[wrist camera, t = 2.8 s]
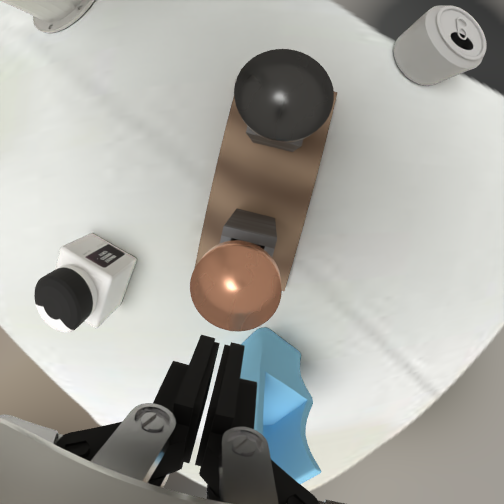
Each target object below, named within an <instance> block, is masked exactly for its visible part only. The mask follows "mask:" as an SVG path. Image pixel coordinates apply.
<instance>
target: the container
mask: <svg viewBox="0 0 504 504" xmlns="http://www.w3.org/2000/svg"><path fill="white" fill-rule="evenodd" d="M136 261H137V259H136V258H135V257H134V256H132V255H130V254H128V253H126V252H125V251H123V250H121V249H119V248H117V247H116V246H114V245H112V244H110V243H109V242H107V241H105V240H103V239H102V238H100V237H98V236H97V235H95V234H93V233H91V234H88V235H86V236H84V237H82V238H79V239H77V240H75V241H73V242H71V243H68V244H66V245H64V246H62V247H61V248H60V251H59V255H58V259H57V264H56V268H55V270H54V271H53V272H51V273H49V274H47V275H46V276H44V277H42V278H41V279H40V280H39V281H38V282H37V284H36V287H35V303H36V307H37V309H38V312H39V314H40V315H41V317H42V318H43V320H44V321H45V322H46V323H47V324H48V325H49V326H51V327H52V328H54V329H56V330H58V331H61V332H71V331H73V330H75V329H76V328H77V327H78V326H79V325H80V324H81V323H83V322H86V323H87V324H89V325H91V326H92V327H94V328H98V327H99V326H100V325H101V324H102V323H103V322H104V321H105V320H106V319H107V318H108V317H109V316H110V315H111V314H112V313H113V312H114V311H115V310H116V309H117V308H118V307H119V306H120V305H121V303H122V300H123V297H124V294H125V291H126V289H127V286H128V283H129V280H130V277H131V275H132V272H133V269H134V267H135V264H136Z"/></svg>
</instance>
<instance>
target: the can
mask: <svg viewBox="0 0 504 504" xmlns="http://www.w3.org/2000/svg"><path fill="white" fill-rule="evenodd" d="M393 52H394V57H395V61H396V63H397V65H398V67H399V69H400V70H401V71H402V72H403V73H404V75H405V76H406V77H408V78H409V79H410V80H412V81H413V82H415V83H418V84H420V85H426V86H430V85H434V84H437V83H439V82H441V81H444V80H446V79H448V78H451V77H453V76H456V75H458V74H461V73H463V72H465V71H468V70H471V69H473V68H475V67H477V66H478V65H479V64H480V63H481V61H482V58H483V56H484V54H485V52H486V39H485V36H484V33H483V31H482V29H481V28H480V26H479V24H478V23H477V22H476V21H475V19H474V18H473V17H472V16H470V15H469V14H468V13H467V12H466V11H464V10H462V9H460V8H458V7H455V6H435V7H433V8H431V9H430V10H429V11H427V12H426V13H425V14H424V15H423V16H422V17H421V18H419V19H418V20H417V21H416V22H415V23H414V24H413V25H412V26H411V27H409V29H407V30H406V31H405V32H404V33H403V34H402V35H401V36H400V37H398V39H397V40H396V42H395V44H394V50H393Z"/></svg>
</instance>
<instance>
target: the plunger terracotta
mask: <svg viewBox="0 0 504 504" xmlns="http://www.w3.org/2000/svg"><path fill="white" fill-rule="evenodd" d="M190 292H191V297H192V301H193V303H194V305H195V307H196V309H197V310H198V312H199V313H200V314H201V315H202V316H203V317H204V318H205V319H206V320H207V321H208V322H210V323H211V324H213V325H215V326H217V327H219V328H222V329H225V330H229V331H246V330H250V329H254V328H256V327H258V326H260V325H262V324H264V323H265V322H266V321H268V320H269V319H270V318H271V317H272V315H273V314H274V313H275V311H276V309H277V308H278V305H279V303H280V299H281V279H280V273H279V269H278V267H277V265H276V263H275V261H274V260H273V258H272V257H271V256H270V255H269V254H268V253H267V252H266V251H265V250H264V249H262V248H261V247H259V245H258V244H254V243H250V242H246V241H242V240H238V239H237V240H234V241H227V242H223V243H220V244H218V245H216V246H214V247H212V248H211V249H210V250H209V251H207V252H206V253H205V255H204V256H203V257H202V258H201V260H200V261H199V263H198V264H197V265H196V267H195V269H194V271H193V273H192V277H191V281H190Z"/></svg>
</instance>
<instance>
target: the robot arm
mask: <svg viewBox="0 0 504 504" xmlns="http://www.w3.org/2000/svg"><path fill="white" fill-rule="evenodd" d="M0 1H2V2H4V3H7V4H9V5H11V6H13V7H15V8H18V9H20V10H22V11H24V12H26V13H28V14H30V15H32V16H33V21H34V25H35V26H36V28H37V29H38V30H40V31H42V32H45V33H54V32H58V31H60V30H63V29H65V28H67V27H68V26H70V25H71V24H73V23H74V22H75V21H77V20H78V19H79V18H80V17H81V16H82V15H83V14H84V13H85V12H86V11H87V10H88V8H89V7H90V6H91V5H92V3H93V2H94V0H0ZM214 341H215V338H212V337H208V336H204V335H201V336H200V339H199V341H198V344H197V346H196V349H195V351H194V354H193V357H192V359H191V362H190V364H189V365H186V364H183V363H179V362H176V361H173V362H172V364H171V366H170V368H169V370H168V372H167V375H166V377H165V379H164V381H163V383H162V385H161V387H160V389H159V391H158V394H157V396H156V398H155V400H154V402H153V404H152V403H146V404H141V405H138V406H136V407H135V408H134V409H133V410H132V411H131V412H130V413H129V414H128V416H127V417H126V418H125V419H124V421H123V422H119V423H115V424H110V425H106V426H101V427H97V428H92V429H87V430H82V431H76V432H71V433H68V434H65V435H60V434H58V432H57V431H56V430H53V429H49V428H46V427H43V426H40V425H37V424H34V423H30V422H27V421H25V420H21V419H19V418H16V417H13V416H10V415H0V504H345V503H339V502H335V501H330V500H325V501H324V502H322V501H318V500H317V499H316V498H315V497H314V496H313V494H311V493H310V492H309V491H308V490H306V489H305V488H304V487H303V486H301V485H300V484H299V483H298V482H297V481H295V480H294V479H293V478H292V477H291V476H290V475H288V474H287V473H286V472H285V471H284V470H283V469H282V468H280V467H279V466H278V465H277V464H276V463H275V462H274V461H273V460H271V458H270V452H269V446H268V443H267V440H266V438H265V437H264V436H263V435H262V434H261V433H259V432H258V431H256V430H254V422H255V409H256V395H257V382H255V381H250V380H246V379H241V378H240V375H241V369H242V362H243V355H244V348H245V346H244V345H240V344H236V343H232V342H231V345H230V346H228V345H225V346H224V350H223V354H222V358H221V362H220V366H219V369H218V373H217V377H216V381H215V385H214V389H213V393H212V397H211V401H210V405H209V409H208V413H207V417H206V421H205V426H204V430H203V434H202V438H201V442H200V446H199V451H198V455H197V459H196V463H195V465H198V466H201V469H200V473H199V474H200V476H201V477H202V478H203V479H204V481H205V482H206V483H207V488H206V493H207V494H206V499H204V498H200V497H195V496H191V495H187V494H183V493H179V492H176V491H172V490H168V489H165V488H163V487H164V485H165V483H166V481H167V479H168V476H169V474H170V473H173V472H175V471H178V470H180V469H182V465H183V462H186V463H189V462H190V459H191V455H192V451H193V447H194V444H195V440H196V436H197V432H198V429H199V425H200V421H201V418H202V414H203V410H204V406H205V403H206V399H207V395H208V391H209V386H210V382H211V378H212V373H213V369H214V365H215V360H216V356H217V352H218V348H219V343H217V342H214Z"/></svg>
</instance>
